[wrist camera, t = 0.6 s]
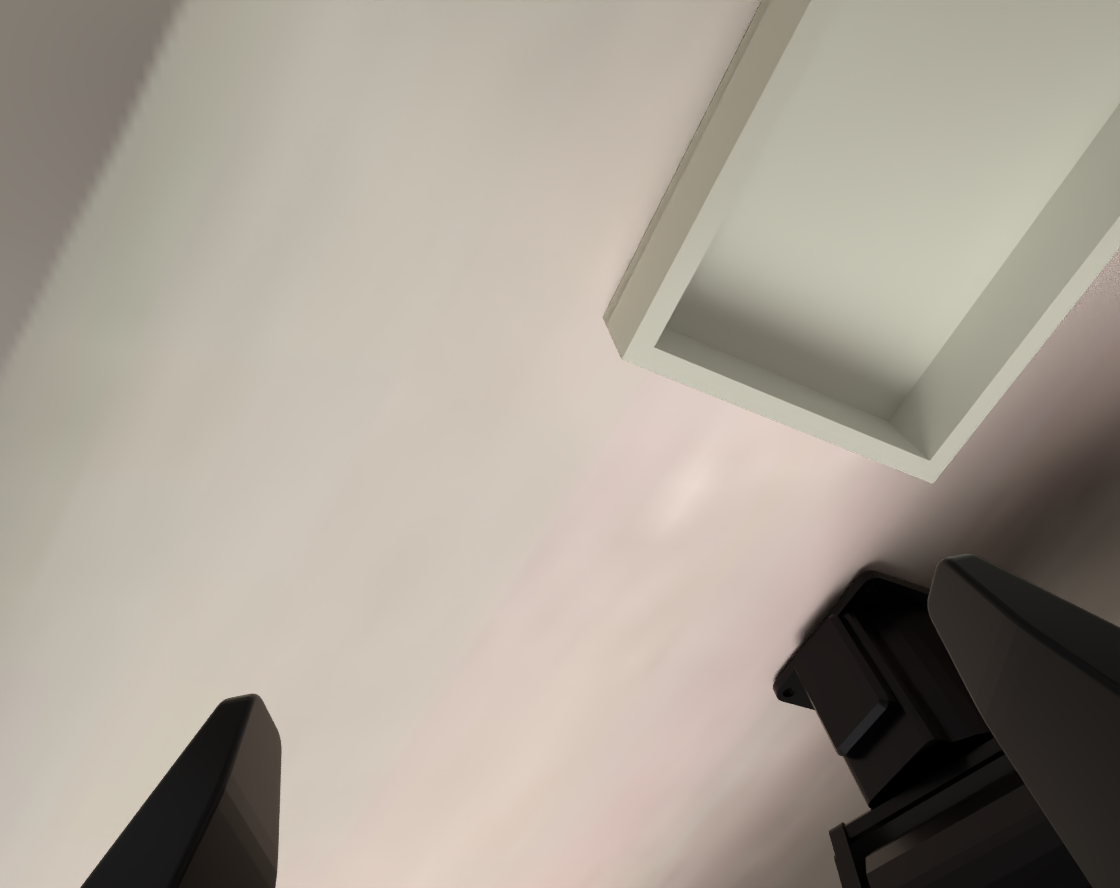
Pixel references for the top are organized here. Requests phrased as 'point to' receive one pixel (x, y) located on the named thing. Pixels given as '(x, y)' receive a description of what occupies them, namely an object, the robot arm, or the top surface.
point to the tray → (884, 217)
